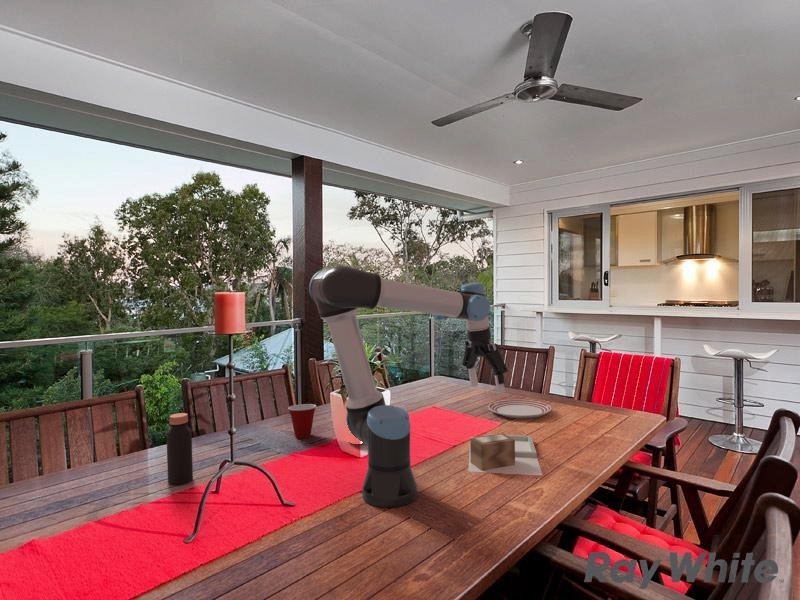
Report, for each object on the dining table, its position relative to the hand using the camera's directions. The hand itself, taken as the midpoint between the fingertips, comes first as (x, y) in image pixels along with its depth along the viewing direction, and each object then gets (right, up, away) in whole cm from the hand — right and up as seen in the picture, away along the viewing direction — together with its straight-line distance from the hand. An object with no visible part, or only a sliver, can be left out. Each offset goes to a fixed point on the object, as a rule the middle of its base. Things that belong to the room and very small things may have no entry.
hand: (487, 389), depth 155 cm
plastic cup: (-67, -22, +21) cm, 74 cm away
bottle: (-96, -24, -18) cm, 100 cm away
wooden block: (0, -22, -10) cm, 24 cm away
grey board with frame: (+5, -22, -2) cm, 22 cm away
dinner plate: (+24, -21, +49) cm, 58 cm away
